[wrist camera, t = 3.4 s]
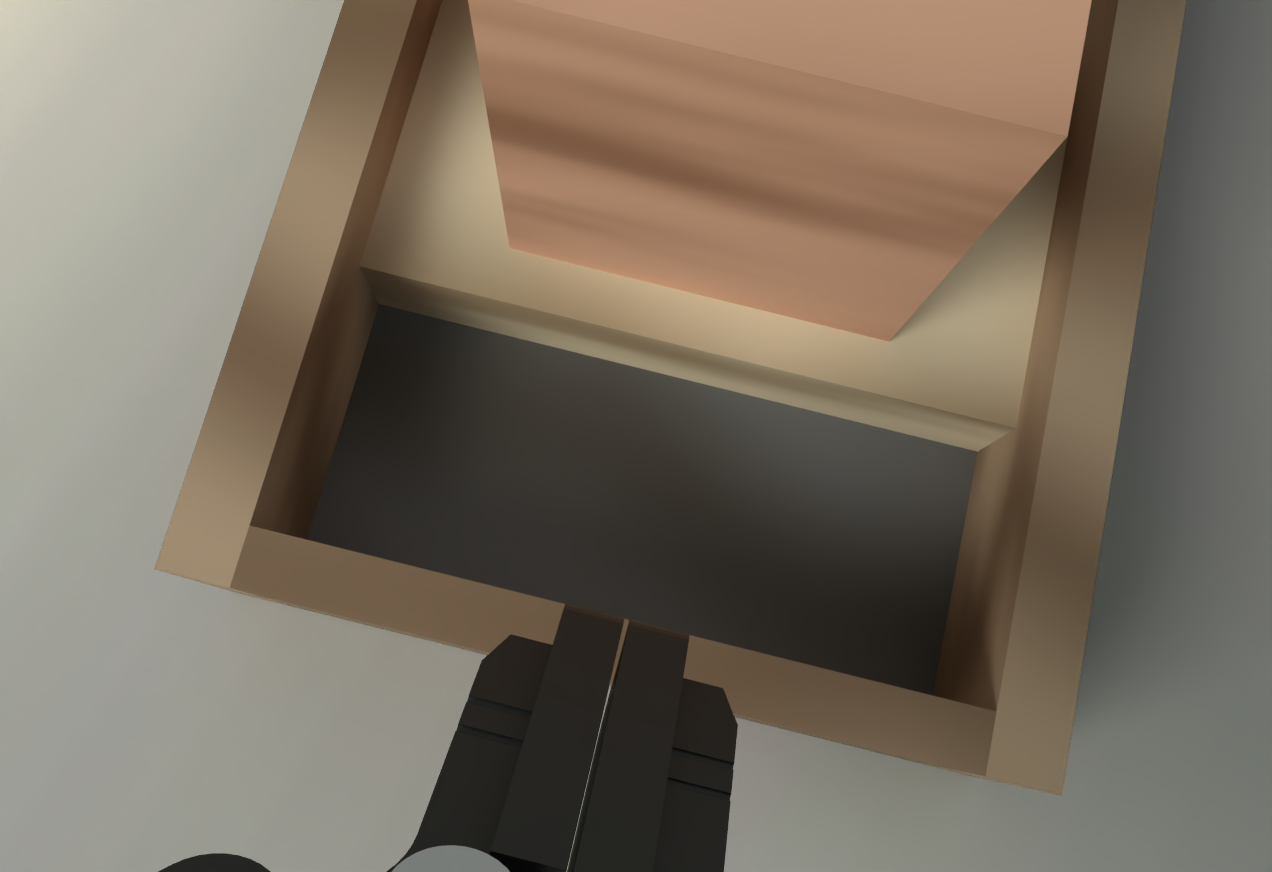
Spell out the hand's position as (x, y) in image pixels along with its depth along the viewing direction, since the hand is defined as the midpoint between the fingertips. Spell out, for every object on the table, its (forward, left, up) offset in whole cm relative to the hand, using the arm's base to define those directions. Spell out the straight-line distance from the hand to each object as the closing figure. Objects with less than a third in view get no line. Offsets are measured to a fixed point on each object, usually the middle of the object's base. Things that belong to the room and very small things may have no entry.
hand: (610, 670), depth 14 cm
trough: (-11, +13, -8) cm, 18 cm away
